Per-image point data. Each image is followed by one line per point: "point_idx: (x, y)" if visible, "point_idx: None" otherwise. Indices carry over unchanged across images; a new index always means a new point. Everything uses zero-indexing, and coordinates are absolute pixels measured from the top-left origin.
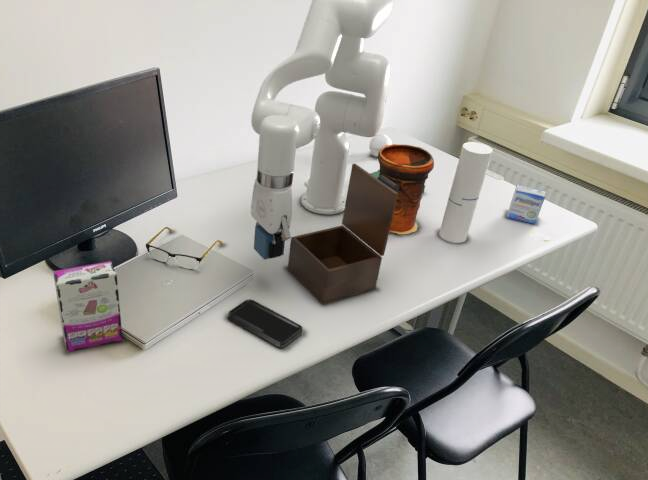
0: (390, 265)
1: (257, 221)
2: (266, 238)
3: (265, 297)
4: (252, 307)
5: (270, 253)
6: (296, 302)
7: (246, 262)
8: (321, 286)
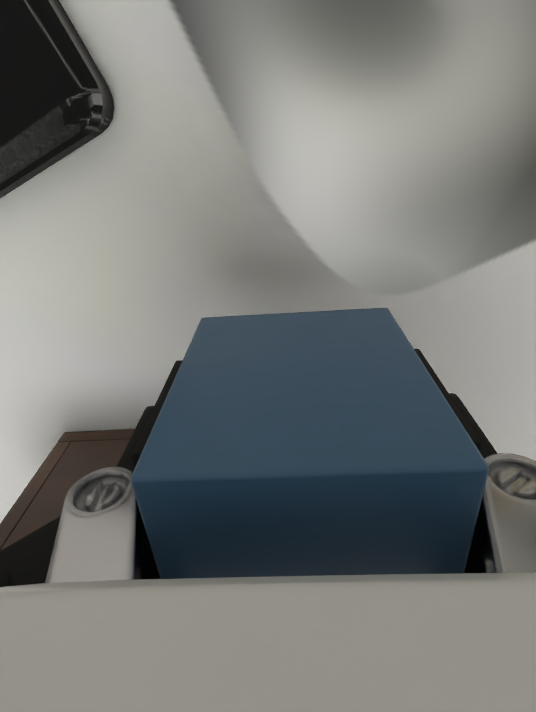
0: None
1: (435, 598)
2: (140, 463)
3: (157, 233)
4: (23, 95)
5: (168, 387)
6: (92, 349)
7: (481, 273)
8: (59, 482)
